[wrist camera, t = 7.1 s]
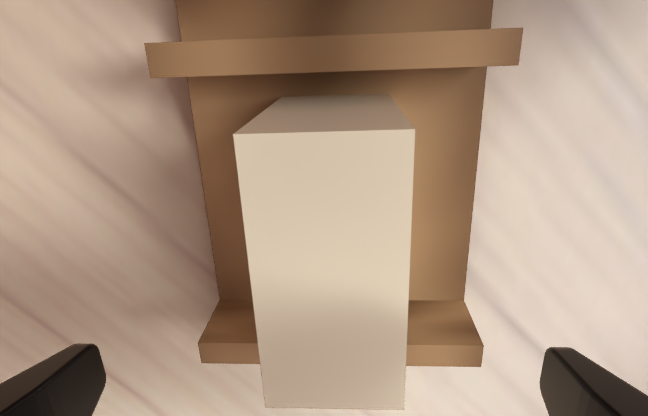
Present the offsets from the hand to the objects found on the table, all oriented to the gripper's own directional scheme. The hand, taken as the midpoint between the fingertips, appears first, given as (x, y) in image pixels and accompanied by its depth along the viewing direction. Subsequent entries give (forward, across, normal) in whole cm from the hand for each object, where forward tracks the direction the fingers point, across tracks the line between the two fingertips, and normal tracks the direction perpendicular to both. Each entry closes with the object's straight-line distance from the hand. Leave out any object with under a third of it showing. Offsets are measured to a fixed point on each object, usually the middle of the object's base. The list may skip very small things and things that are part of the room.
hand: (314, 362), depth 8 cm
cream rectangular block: (+10, 0, 0) cm, 10 cm away
